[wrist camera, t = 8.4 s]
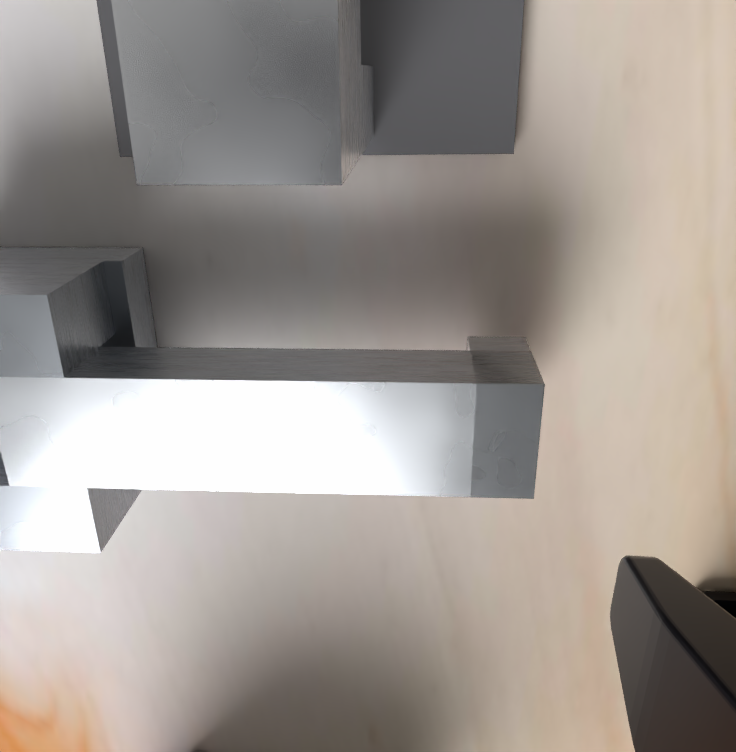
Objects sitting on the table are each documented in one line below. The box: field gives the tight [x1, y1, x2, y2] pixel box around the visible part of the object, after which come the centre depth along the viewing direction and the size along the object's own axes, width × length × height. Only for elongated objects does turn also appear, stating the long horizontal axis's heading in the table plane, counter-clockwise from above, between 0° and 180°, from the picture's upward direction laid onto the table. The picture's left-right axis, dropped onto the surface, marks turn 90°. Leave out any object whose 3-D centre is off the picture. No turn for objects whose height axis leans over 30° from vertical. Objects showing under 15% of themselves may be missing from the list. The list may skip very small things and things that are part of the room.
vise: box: [0, 247, 545, 553], centre depth 19 cm, size 16×7×4 cm, turn 91°
